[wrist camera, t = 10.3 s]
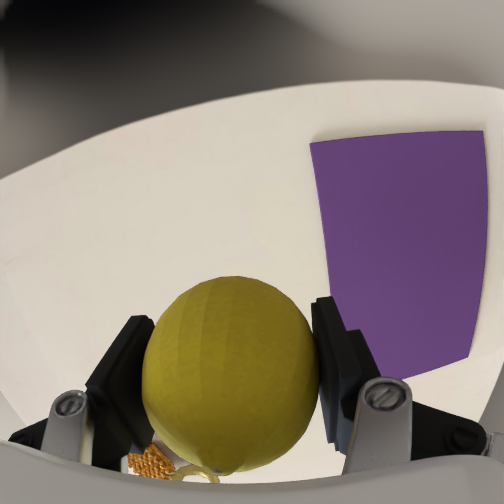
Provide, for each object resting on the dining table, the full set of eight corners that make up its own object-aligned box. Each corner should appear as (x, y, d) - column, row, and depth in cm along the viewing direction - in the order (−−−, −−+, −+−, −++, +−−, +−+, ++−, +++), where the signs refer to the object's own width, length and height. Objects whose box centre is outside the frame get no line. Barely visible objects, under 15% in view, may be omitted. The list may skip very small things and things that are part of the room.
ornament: (117, 487, 31) (211, 524, 28) (102, 442, 30) (209, 484, 26) (138, 464, 38) (226, 493, 34) (129, 418, 36) (228, 450, 33)
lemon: (168, 250, 12) (65, 381, 5) (304, 242, 12) (358, 388, 4) (189, 356, 14) (145, 499, 7) (304, 353, 14) (326, 506, 6)
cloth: (309, 143, 21) (309, 143, 20) (481, 130, 19) (482, 130, 19) (336, 393, 28) (337, 395, 28) (466, 355, 27) (467, 357, 26)
